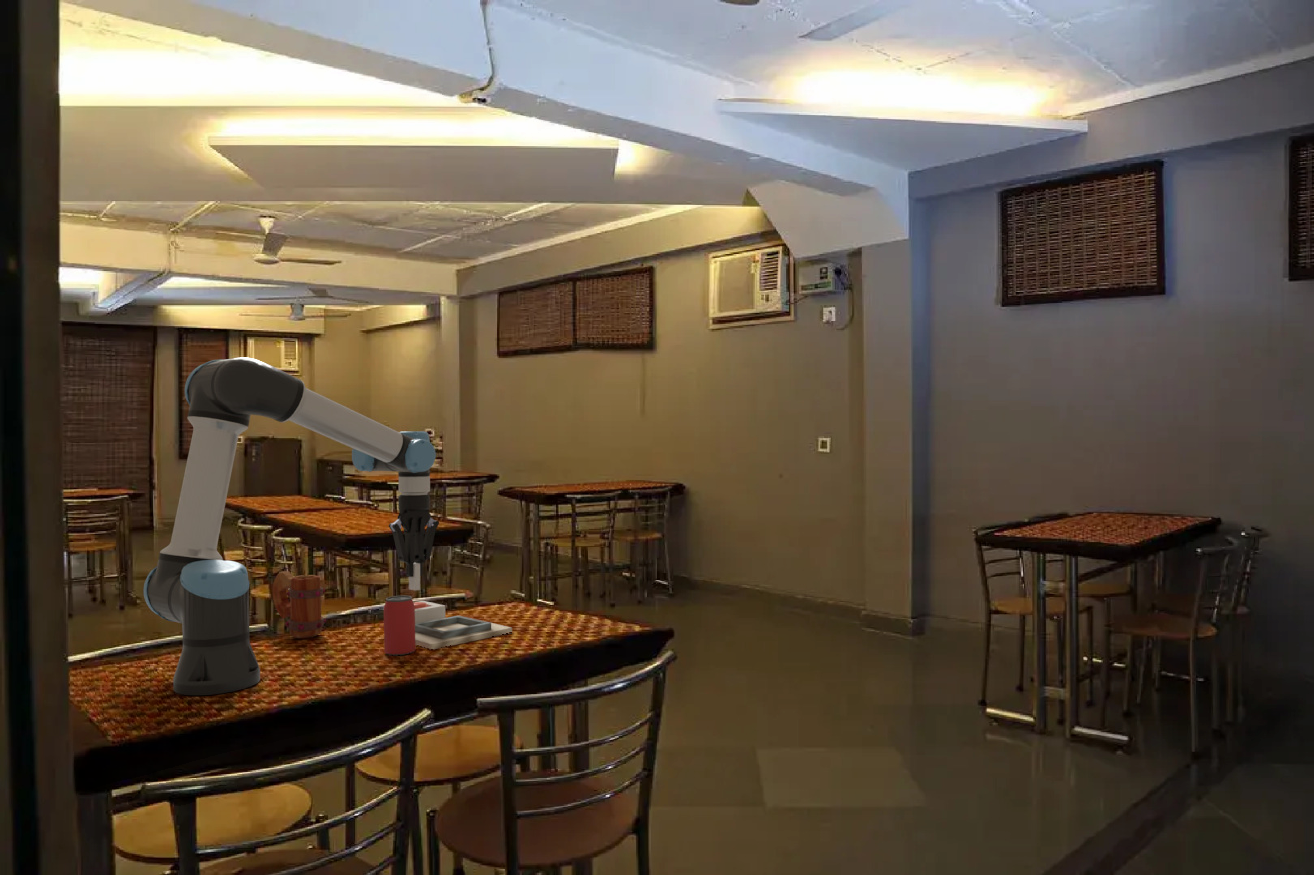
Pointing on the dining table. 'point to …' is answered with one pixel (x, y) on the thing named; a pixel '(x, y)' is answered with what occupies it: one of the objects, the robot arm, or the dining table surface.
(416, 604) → the button
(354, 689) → the dining table surface
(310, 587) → the mug
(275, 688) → the dining table surface
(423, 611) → the button box
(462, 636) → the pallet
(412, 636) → the beer can
